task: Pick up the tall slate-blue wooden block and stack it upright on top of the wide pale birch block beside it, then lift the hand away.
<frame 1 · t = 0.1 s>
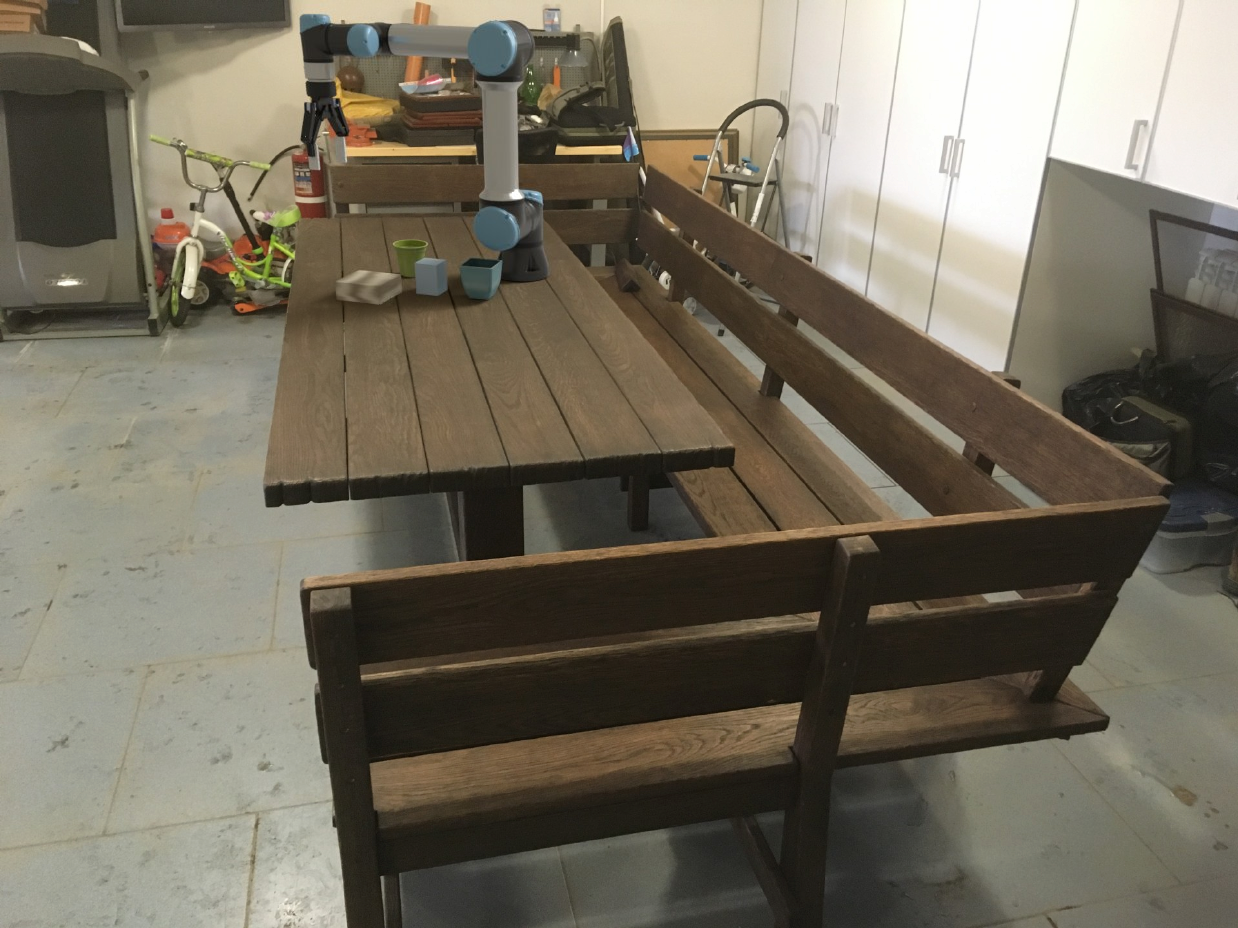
hand: (328, 166, 262), 28 cm above the table, tool pointing down, fingers open, 13 cm apart
flower pot: (482, 297, 254), on the table
slate blue block: (432, 291, 258), on the table
plant pot: (412, 275, 272), on the table
birch block: (369, 297, 253), on the table
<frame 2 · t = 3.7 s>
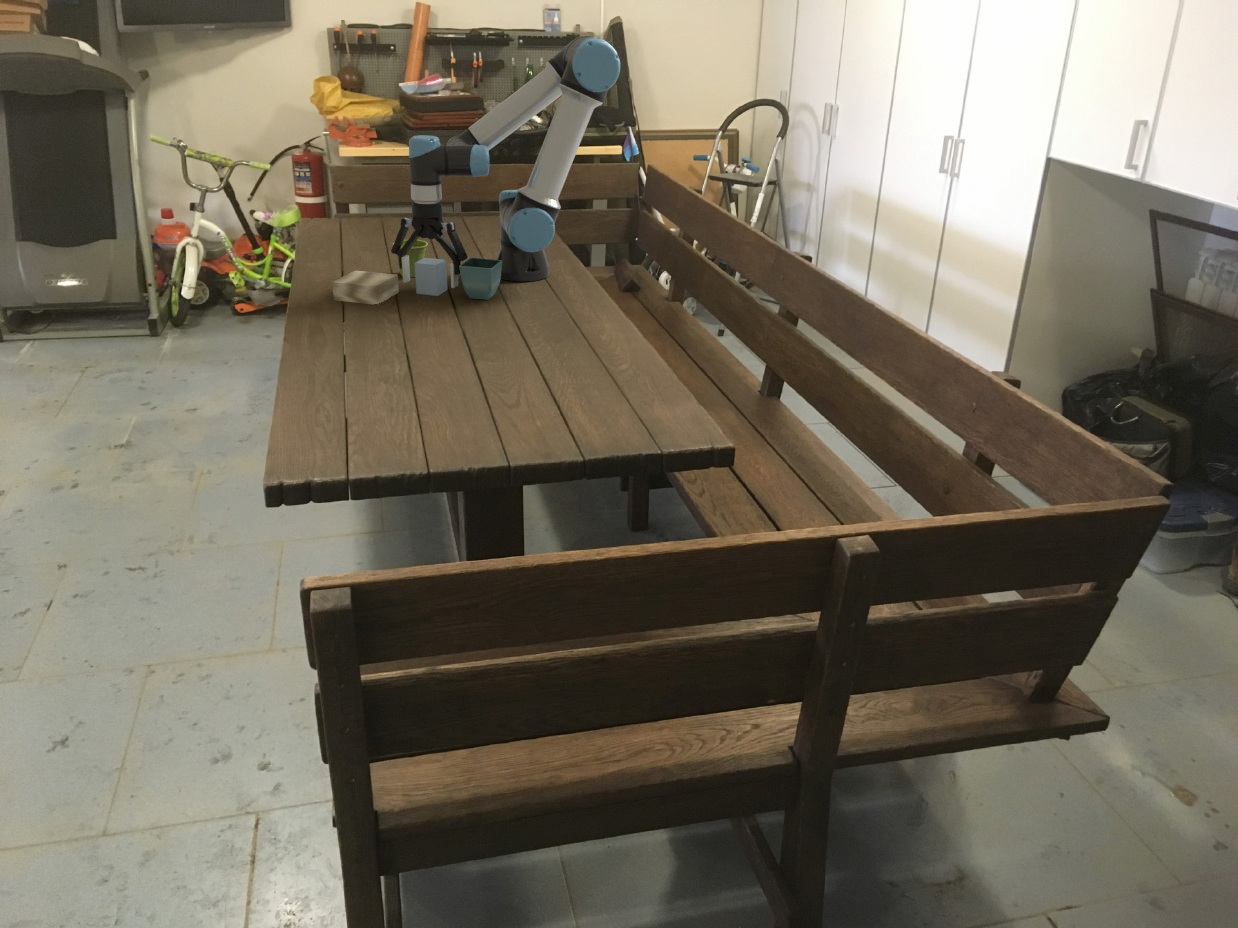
hand: (430, 284, 257), 2 cm above the table, tool pointing down, fingers open, 13 cm apart
flower pot: (482, 298, 254), on the table, touching gripper
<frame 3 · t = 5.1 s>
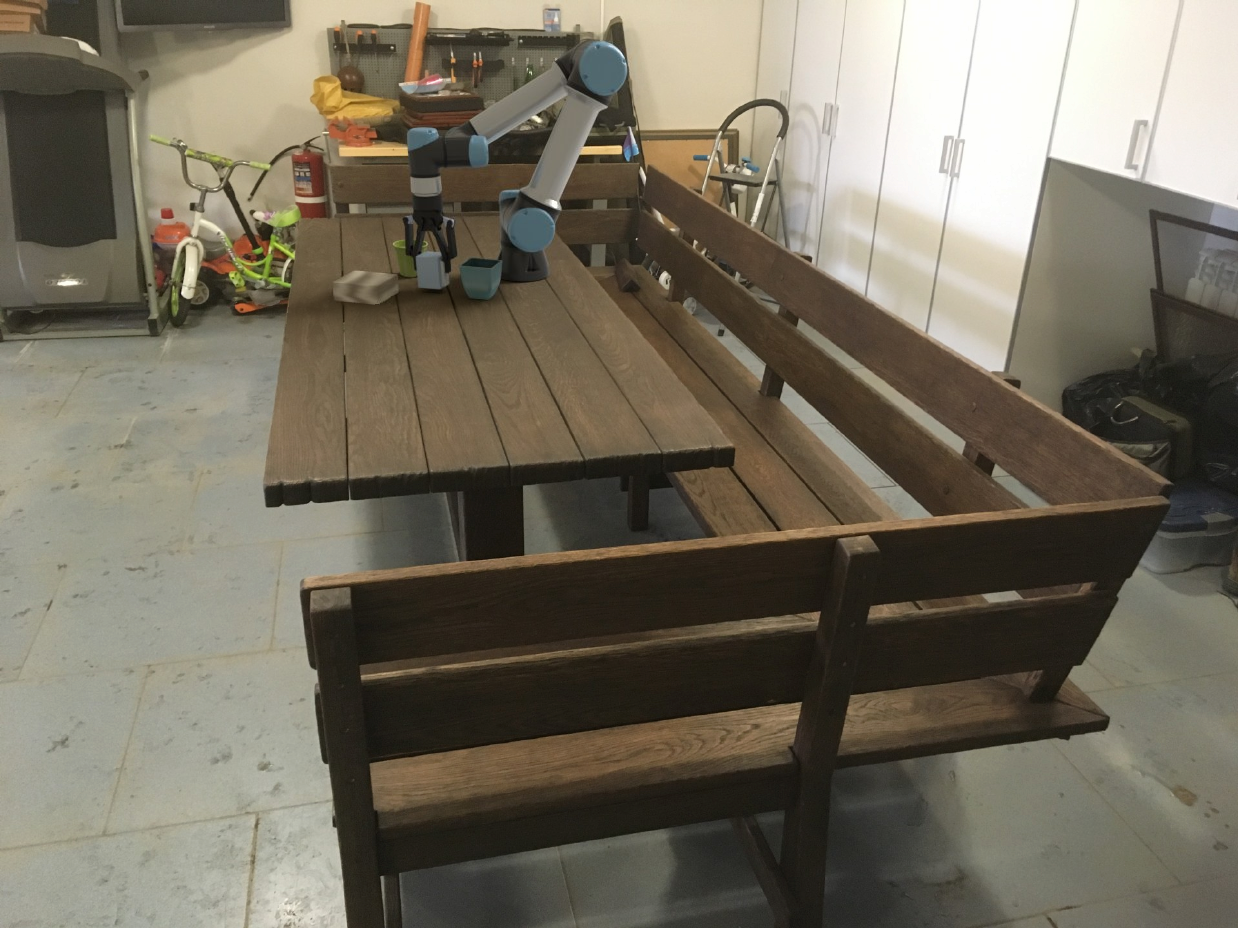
hand: (433, 283, 257), 2 cm above the table, tool pointing down, fingers closed on slate blue block, 6 cm apart
flower pot: (482, 297, 254), on the table
slate blue block: (434, 285, 257), point 2 cm above the table, touching gripper
everything else where it was.
when the fingers open (6 cm above the table, at t = 11.5 s): slate blue block stays where it is, resting on birch block.
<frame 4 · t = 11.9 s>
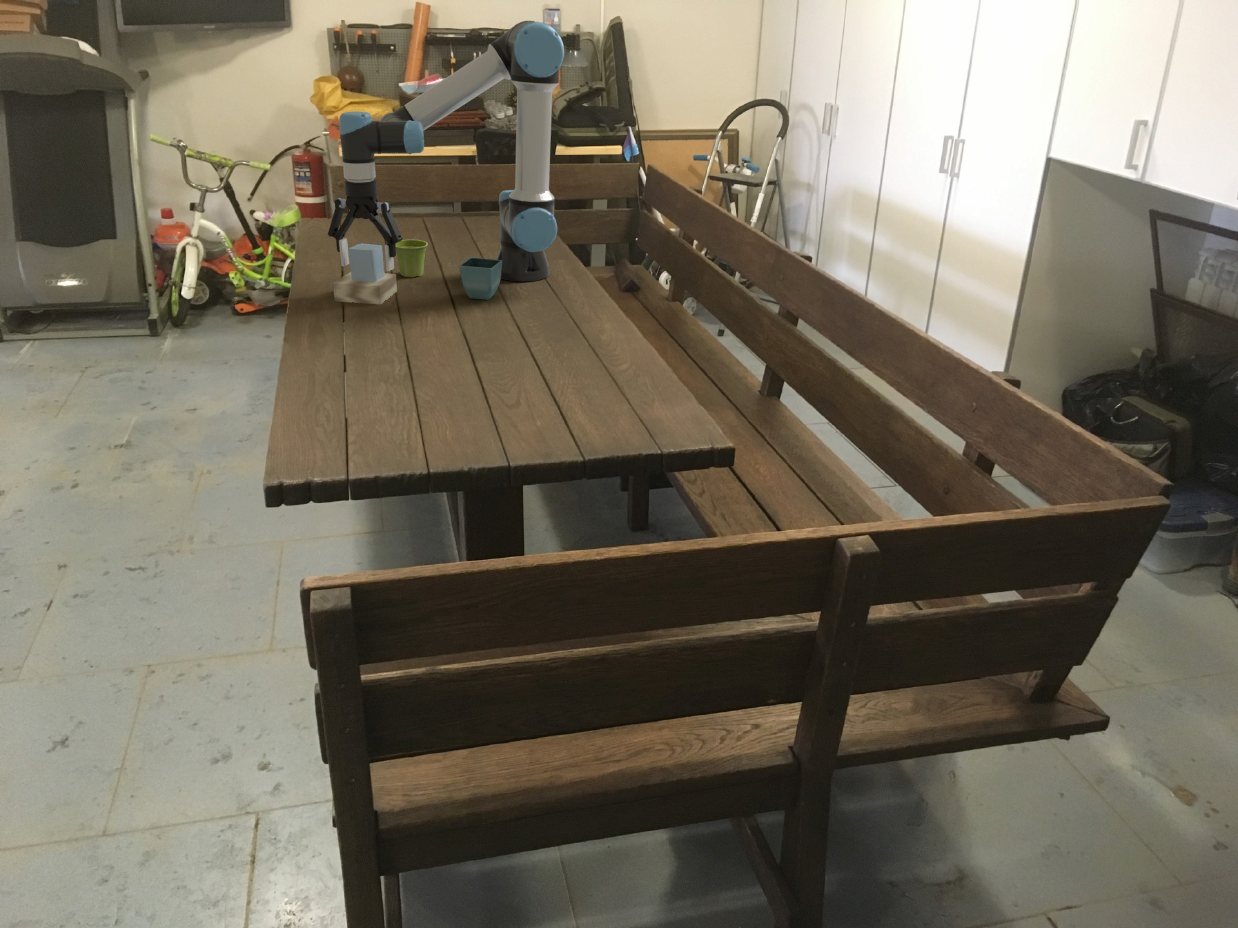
hand: (367, 267, 249), 7 cm above the table, tool pointing down, fingers open, 12 cm apart
slate blue block: (368, 278, 250), point 5 cm above the table, touching birch block
birch block: (366, 297, 252), on the table, touching slate blue block
everything else where it was.
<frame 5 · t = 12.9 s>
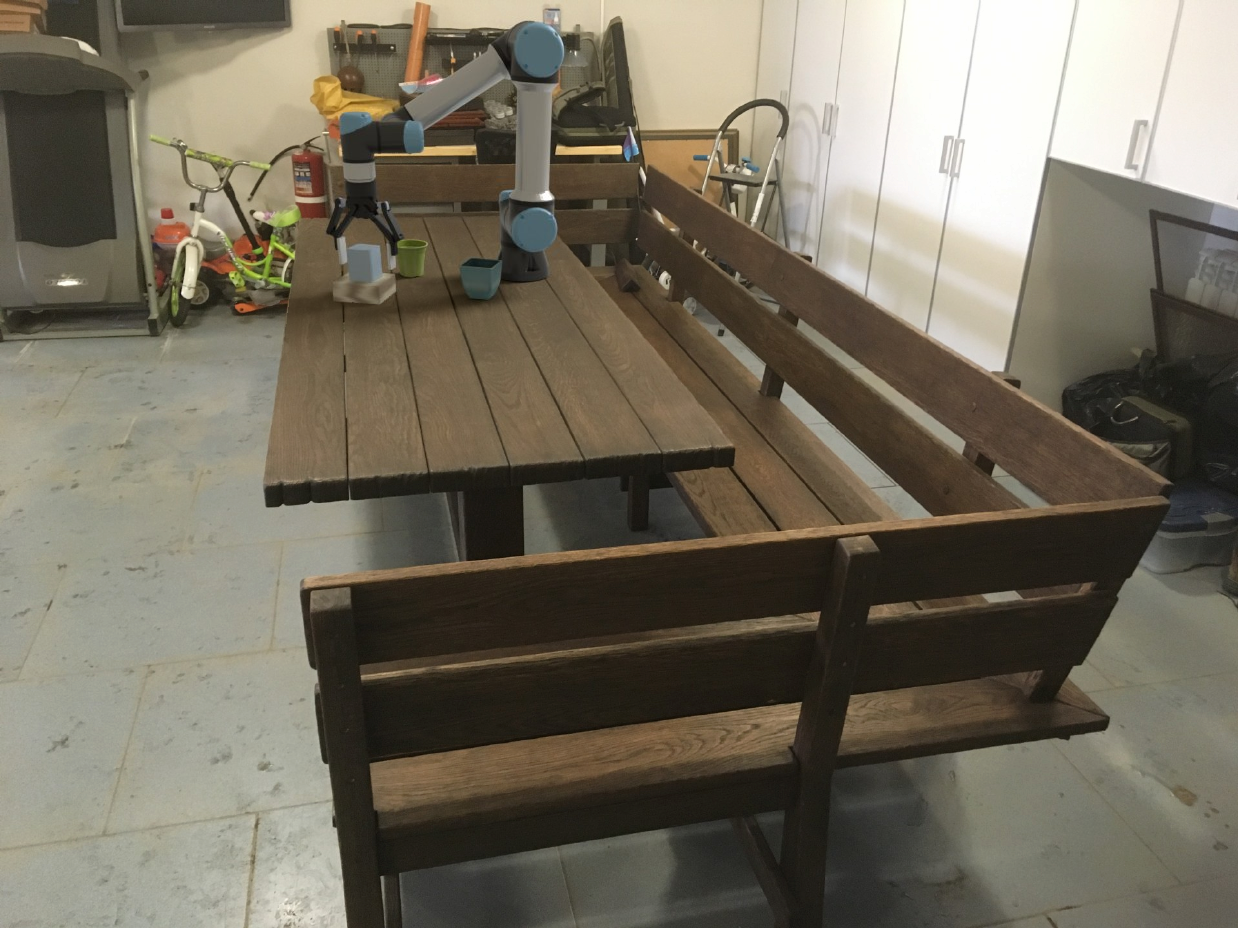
hand: (367, 266, 249), 8 cm above the table, tool pointing down, fingers open, 13 cm apart
slate blue block: (366, 278, 250), point 5 cm above the table
birch block: (365, 297, 252), on the table
everything else where it was.
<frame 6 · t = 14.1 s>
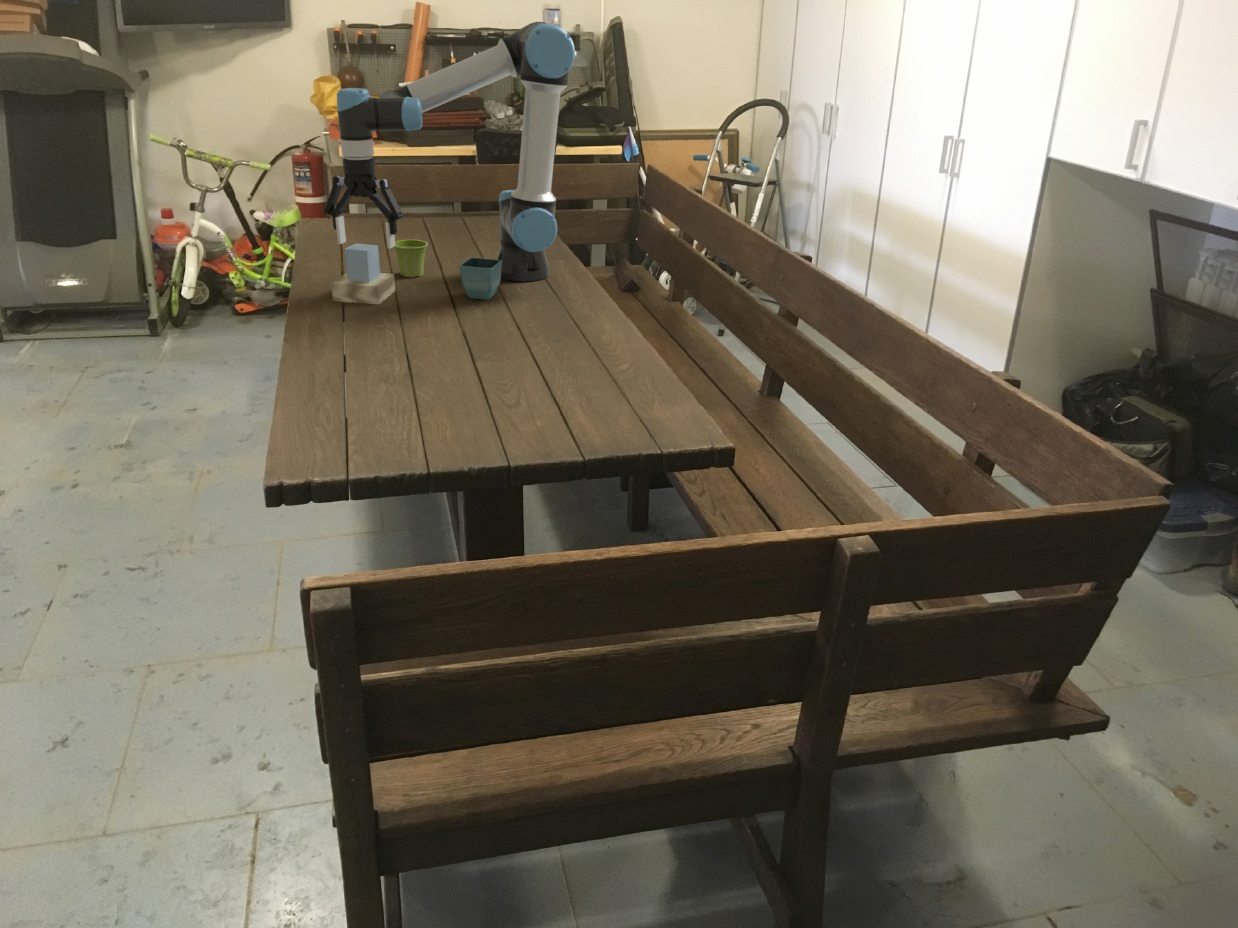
hand: (366, 245, 247), 13 cm above the table, tool pointing down, fingers open, 13 cm apart
slate blue block: (364, 278, 250), point 5 cm above the table, touching birch block
birch block: (364, 297, 252), on the table, touching slate blue block
everything else where it was.
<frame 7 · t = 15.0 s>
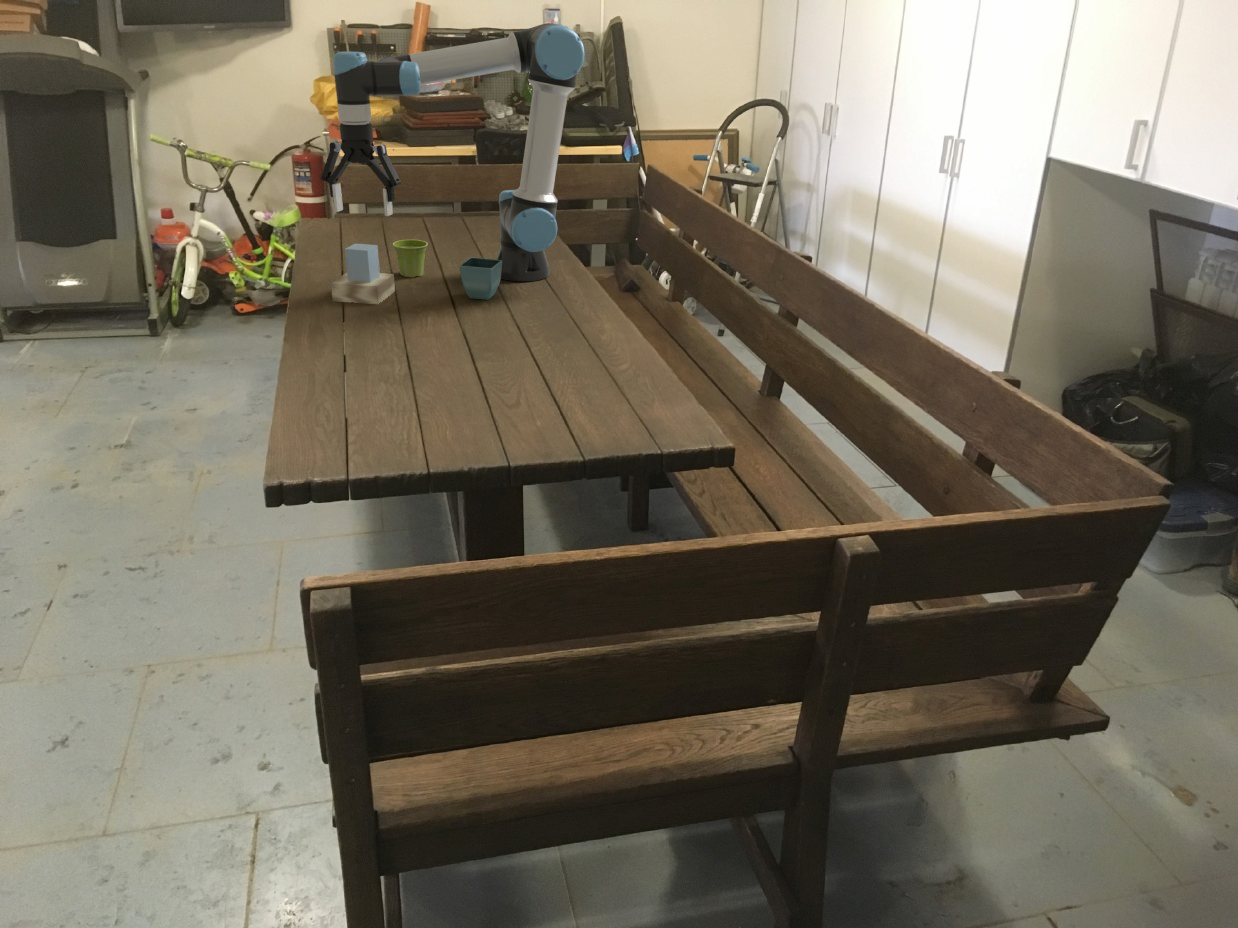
hand: (363, 213, 244), 21 cm above the table, tool pointing down, fingers open, 13 cm apart
nothing on the table moved.
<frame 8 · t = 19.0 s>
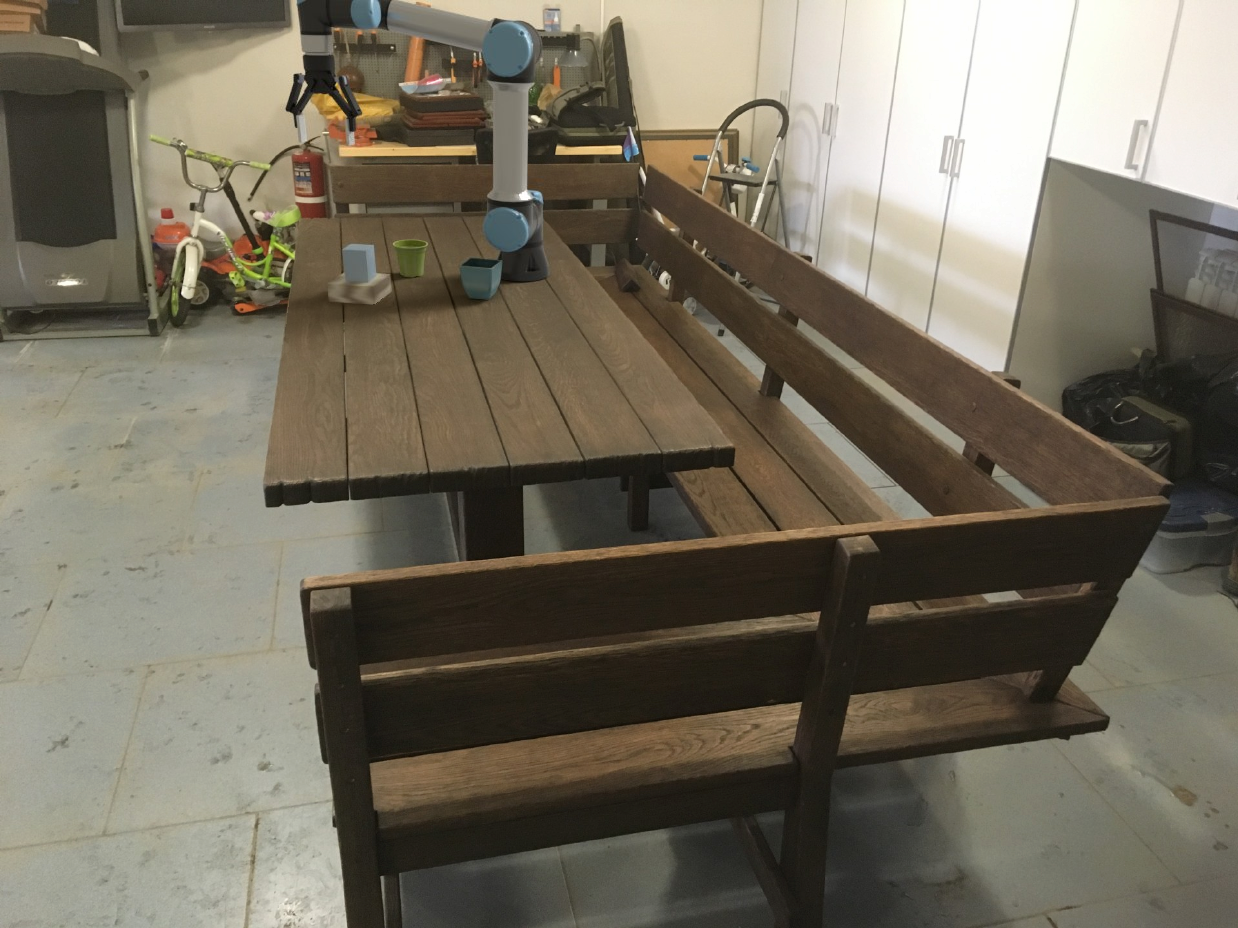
hand: (326, 143, 253), 35 cm above the table, tool pointing down, fingers open, 13 cm apart
at the end: slate blue block inside the target area on the birch block (0.4 cm from its centre), point 5.0 cm above the birch block's base; slate blue block tilted 0°; the gripper is holding nothing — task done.
